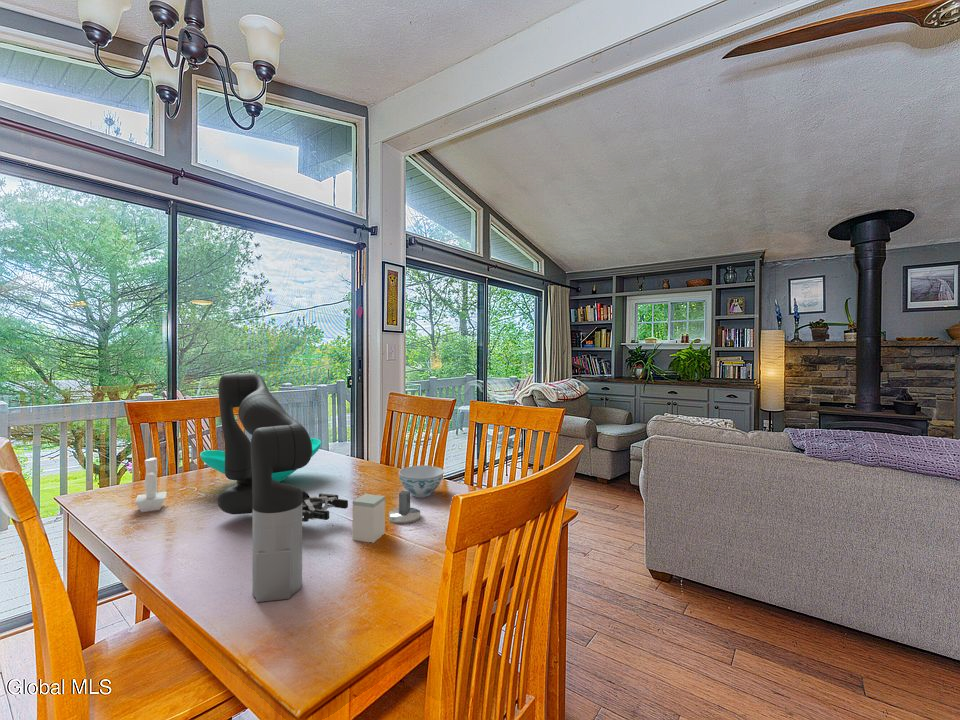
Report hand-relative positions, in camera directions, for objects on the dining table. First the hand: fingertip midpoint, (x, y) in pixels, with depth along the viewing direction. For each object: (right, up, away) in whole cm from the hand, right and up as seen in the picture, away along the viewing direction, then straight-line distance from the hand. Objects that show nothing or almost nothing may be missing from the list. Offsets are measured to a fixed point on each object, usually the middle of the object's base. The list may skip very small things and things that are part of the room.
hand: (338, 509), depth 120 cm
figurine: (-60, -5, +15) cm, 62 cm away
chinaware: (+18, -6, +32) cm, 37 cm away
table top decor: (-39, -4, +41) cm, 56 cm away
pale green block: (+9, -6, -2) cm, 11 cm away
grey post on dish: (+16, -6, +11) cm, 20 cm away
